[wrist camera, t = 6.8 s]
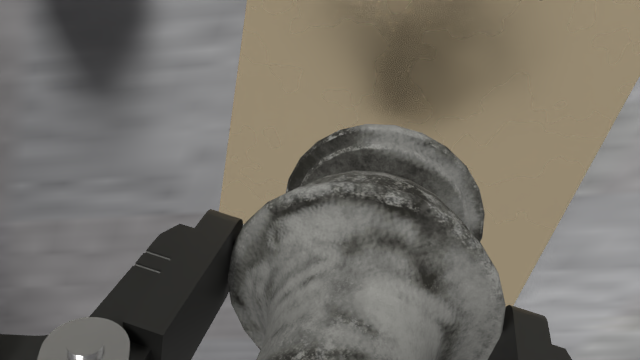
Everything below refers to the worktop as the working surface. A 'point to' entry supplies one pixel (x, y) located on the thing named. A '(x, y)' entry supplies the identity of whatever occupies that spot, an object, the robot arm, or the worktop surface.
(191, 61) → the worktop surface
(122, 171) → the worktop surface
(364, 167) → the stone finial
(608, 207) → the worktop surface
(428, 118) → the stand
